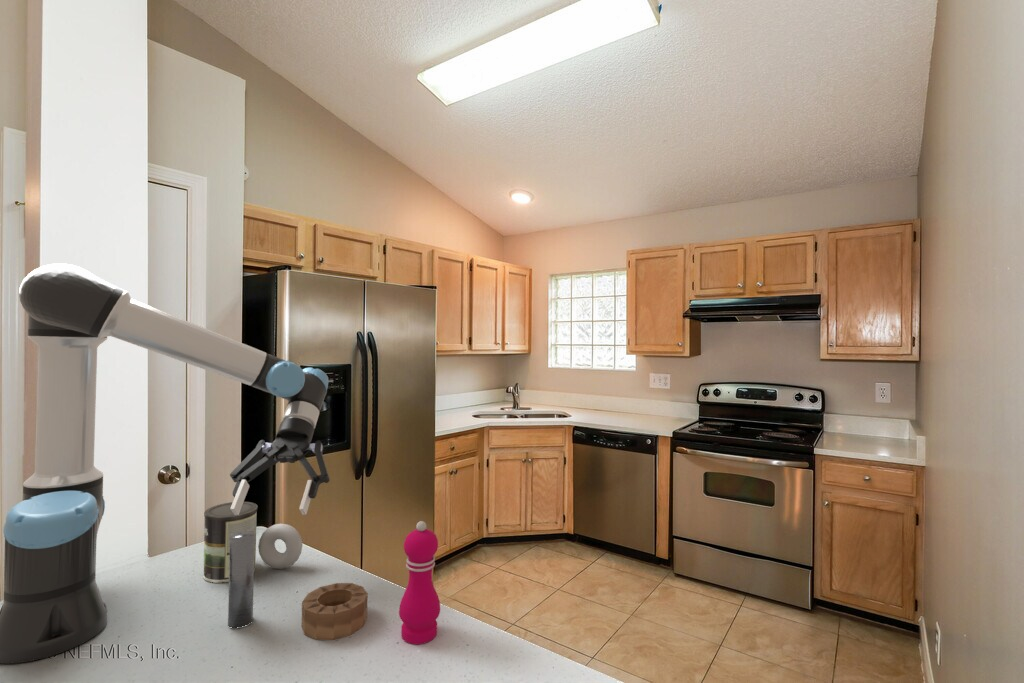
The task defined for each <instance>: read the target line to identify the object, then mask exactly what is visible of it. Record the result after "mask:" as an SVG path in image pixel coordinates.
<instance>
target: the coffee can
mask: <svg viewBox="0 0 1024 683" xmlns="http://www.w3.org/2000/svg"><path fill="white" fill-rule="evenodd" d="M232 503H233V501H232V502H225V503H220V504H217V505H214V506H211V507H209V508H207V509H206V510H205V511H204V513H203V514H204V535H203V536H204V538H203V539H204V544H203V575H202V577H203V578H202V579H203V580H204V581H206V582H208V583H212V582H213V583H212V584H222V582H225V583H229V551H230V535H232V534H234V533H236V532H240V531H253V532H254V533H255V540H254V571H255V570H256V567H257V565H256V554H257V552H256V551H257V550H256V548H257V512H258V508H259V506H258V504H256V503H254V502H251V501H244V502H243V505H242V507H241V510H240V512H239V515H234V513H233V512H232V511H231V509H230V508H231V505H232Z"/></svg>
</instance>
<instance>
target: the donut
mask: <svg viewBox="0 0 1024 683" xmlns="http://www.w3.org/2000/svg"><path fill="white" fill-rule="evenodd" d="M278 540H281V541H282V542H284V544H285V551H284V552H280V551H278V550H277V548H276V545H275V543H276V541H278ZM302 551H303V540H302V536H301V534H300V533H299V531H298V530H297V529H296V528H295V527H293V526H291V525H290V524H287V523H286V524H285V523H275V524H273V525H270V526H269V527H268V528H266V530H264V531H263V532H262V534H261V536H260V537H259V541H258V554H259V556H260V559H261V560H262V561H263V563H265V565H266V566H268V567H270V568H272V569H277V570H282V569H287V568H289V567H291V566H292V565H294V564H295V563H296V562H297V561H298V560H299V559H300V556H301V554H302Z"/></svg>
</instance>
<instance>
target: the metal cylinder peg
mask: <svg viewBox="0 0 1024 683" xmlns="http://www.w3.org/2000/svg"><path fill="white" fill-rule="evenodd" d="M254 540H255V533H254V532H253V531H240V532H236V533H234V534H232V535H230V551H229V582H228V601H227V602H228V606H227V608H228V610H227V612H228V613H227V614H228V615H227V618H228V619H227V626H229V627H232V628H237V627H242V626H245V625H248V624H249V623H251V622H252V623H253V621H254V582H255V581H254V579H255V573H254V572H255V570H254ZM252 623H251V624H252ZM249 625H250V624H249ZM249 625H248V626H249ZM229 627H228V628H229ZM232 628H231V629H232Z"/></svg>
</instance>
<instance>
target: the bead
mask: <svg viewBox="0 0 1024 683" xmlns="http://www.w3.org/2000/svg"><path fill="white" fill-rule="evenodd" d="M368 597H369V596H368V592H367V590H366V589H365V587H364V586H362V585H359V584H355V583H353V582H334V583H332V584H326V585H321V586H319V587H318V588H316V589H314V590H312V591H310V592H308V593H307V594H306V596H305V597H304V598H303V599H302V601H301V629H302V632H303V634H304V636H307V637H308V638H311V639H313V640H316V641H317V640H318V641H319V640H321V641H323V640H333V641H334V640H337V639H341V638H345V637H347V636H351V635H353V634H354V633H355V632H357V631H359V630H360V629H362V628H363V627H364V626H365V623H366V622H367V621H366V620H367V619H368Z"/></svg>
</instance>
